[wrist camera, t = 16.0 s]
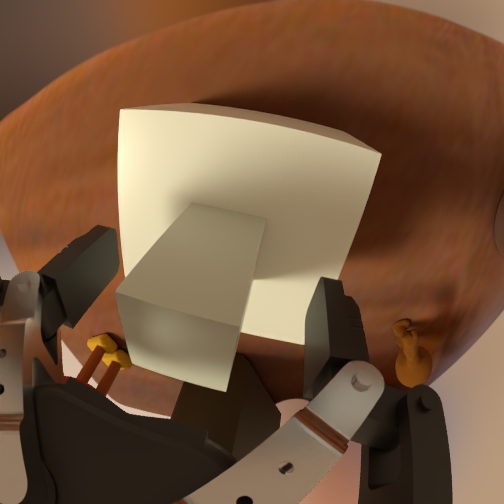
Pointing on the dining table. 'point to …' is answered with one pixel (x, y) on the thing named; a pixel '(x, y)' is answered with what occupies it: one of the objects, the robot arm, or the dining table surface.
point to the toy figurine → (410, 356)
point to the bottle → (231, 410)
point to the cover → (228, 229)
